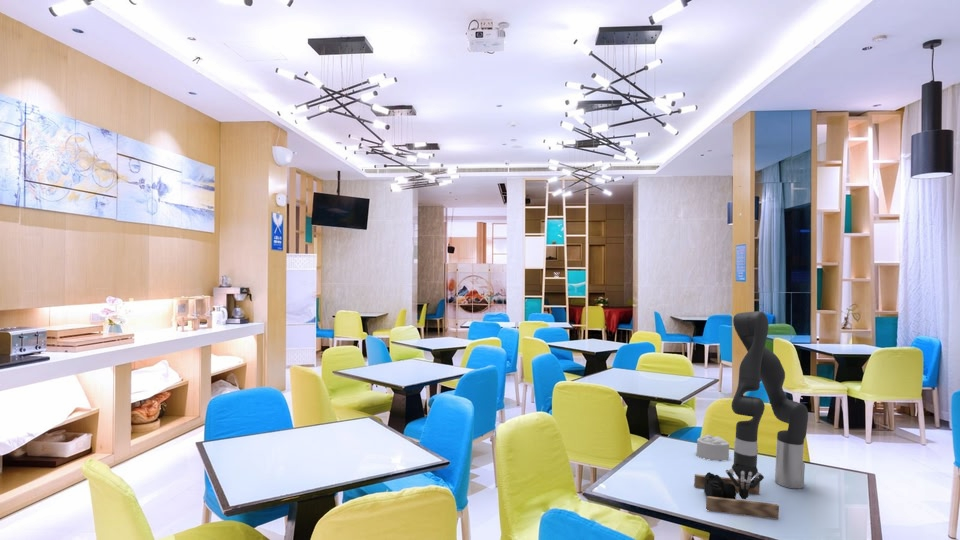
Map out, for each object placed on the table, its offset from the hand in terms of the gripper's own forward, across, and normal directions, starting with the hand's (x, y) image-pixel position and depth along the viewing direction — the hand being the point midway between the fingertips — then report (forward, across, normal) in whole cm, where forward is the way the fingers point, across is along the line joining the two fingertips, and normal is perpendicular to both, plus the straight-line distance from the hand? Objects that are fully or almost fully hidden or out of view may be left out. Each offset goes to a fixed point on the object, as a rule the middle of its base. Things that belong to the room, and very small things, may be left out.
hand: (743, 498), depth 191 cm
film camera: (+2, +8, 0) cm, 8 cm away
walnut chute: (+2, +3, 0) cm, 4 cm away
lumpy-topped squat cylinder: (+2, 0, -47) cm, 47 cm away
